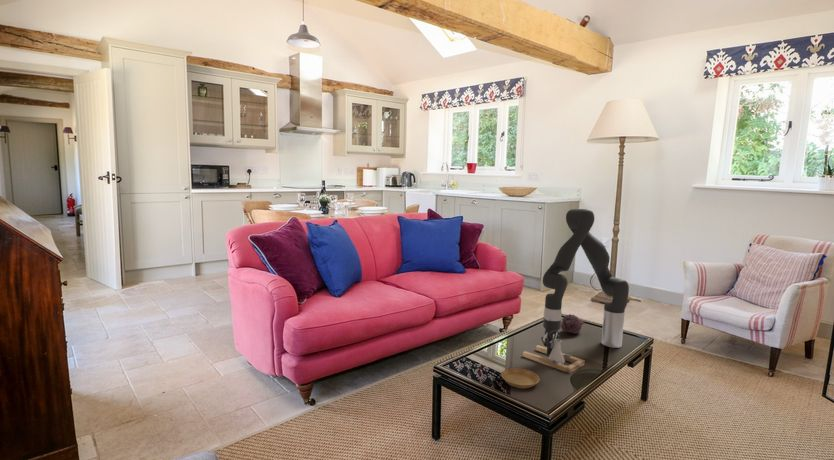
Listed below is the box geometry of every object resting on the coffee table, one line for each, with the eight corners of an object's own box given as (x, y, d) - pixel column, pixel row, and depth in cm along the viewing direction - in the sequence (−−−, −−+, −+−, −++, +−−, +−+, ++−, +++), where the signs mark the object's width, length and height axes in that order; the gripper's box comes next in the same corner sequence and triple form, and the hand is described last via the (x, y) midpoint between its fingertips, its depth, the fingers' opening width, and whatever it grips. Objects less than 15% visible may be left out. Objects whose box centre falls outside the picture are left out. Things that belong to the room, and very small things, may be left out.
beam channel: (538, 349, 211) (538, 344, 211) (584, 364, 194) (584, 359, 194) (522, 356, 202) (522, 351, 202) (569, 373, 185) (570, 368, 185)
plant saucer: (546, 382, 177) (546, 376, 177) (526, 395, 167) (527, 388, 166) (513, 370, 187) (514, 365, 187) (493, 382, 177) (494, 375, 176)
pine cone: (569, 339, 224) (570, 320, 223) (552, 334, 232) (553, 315, 231) (588, 332, 235) (589, 314, 234) (571, 327, 243) (573, 309, 242)
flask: (555, 366, 192) (556, 344, 191) (544, 360, 198) (545, 338, 197) (568, 363, 195) (569, 342, 194) (556, 357, 202) (558, 336, 200)
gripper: (552, 312, 204) (549, 348, 206) (536, 318, 195) (534, 356, 197) (567, 316, 199) (564, 353, 201) (552, 322, 190) (549, 361, 192)
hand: (549, 354), depth 199 cm, fingers closed
